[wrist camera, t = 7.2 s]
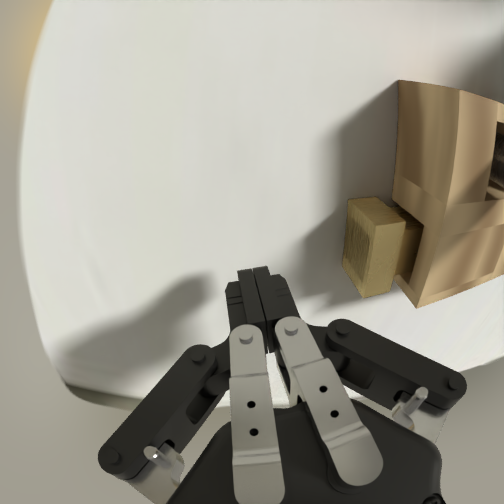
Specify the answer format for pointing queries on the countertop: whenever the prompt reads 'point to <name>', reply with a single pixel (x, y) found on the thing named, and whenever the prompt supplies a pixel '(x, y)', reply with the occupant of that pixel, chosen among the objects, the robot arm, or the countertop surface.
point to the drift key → (379, 244)
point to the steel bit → (498, 160)
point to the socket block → (449, 189)
